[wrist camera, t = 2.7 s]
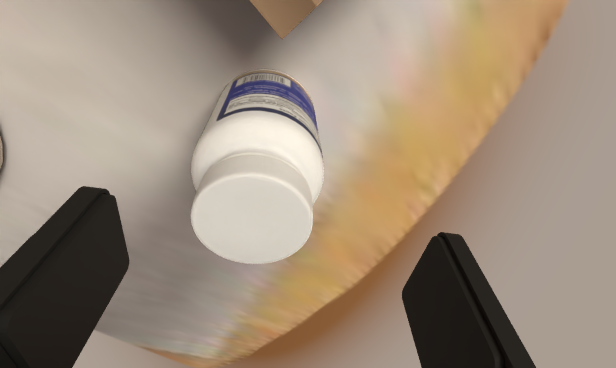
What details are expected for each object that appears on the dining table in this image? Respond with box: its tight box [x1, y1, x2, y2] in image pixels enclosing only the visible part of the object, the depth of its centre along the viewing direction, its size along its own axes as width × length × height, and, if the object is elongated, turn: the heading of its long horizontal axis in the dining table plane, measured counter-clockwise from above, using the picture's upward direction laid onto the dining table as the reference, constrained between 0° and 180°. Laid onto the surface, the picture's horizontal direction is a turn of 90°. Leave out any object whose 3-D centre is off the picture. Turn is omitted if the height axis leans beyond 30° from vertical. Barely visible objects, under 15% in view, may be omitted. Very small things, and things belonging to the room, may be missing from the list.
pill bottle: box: [191, 69, 324, 264], centre depth 14 cm, size 5×5×9 cm
